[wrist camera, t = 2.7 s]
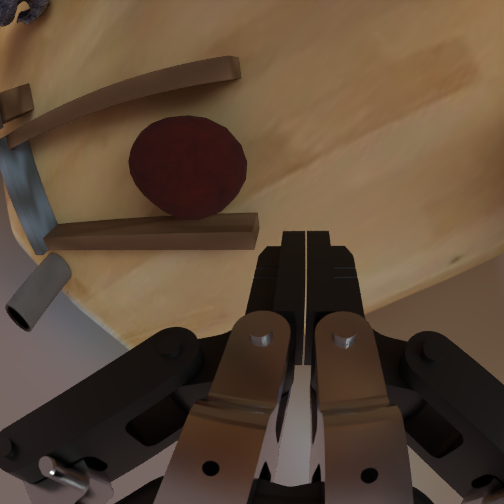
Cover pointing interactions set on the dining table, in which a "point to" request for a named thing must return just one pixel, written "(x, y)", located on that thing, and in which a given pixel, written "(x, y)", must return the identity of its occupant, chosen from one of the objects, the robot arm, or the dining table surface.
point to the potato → (188, 166)
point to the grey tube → (38, 292)
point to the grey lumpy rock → (5, 5)
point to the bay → (118, 230)
